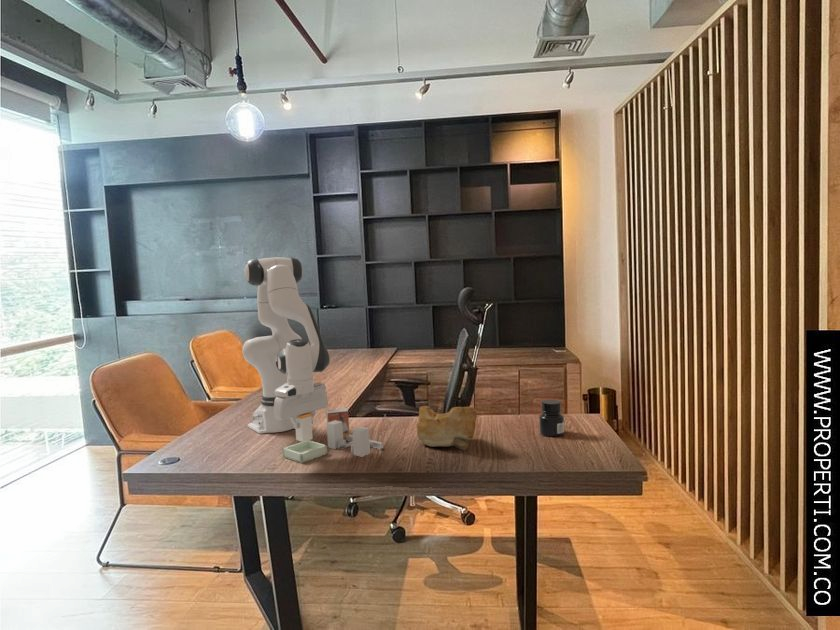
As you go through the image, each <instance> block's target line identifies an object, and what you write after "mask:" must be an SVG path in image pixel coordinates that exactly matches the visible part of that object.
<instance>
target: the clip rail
mask: <svg viewBox="0 0 840 630" xmlns="http://www.w3.org/2000/svg"><path fill="white" fill-rule="evenodd" d="M346 440H347V441H348V442H347V441H346ZM369 440H370V448H372V447H373V448H372V449H376V448H377V449H376V450H382V448H383V449H384V446H383V445H384V443H383V442H380V441H377V440H374V439H370V438H369ZM345 447H346V448H348V447H350V454H353V455H354V450H353V434H350V433H349V434H348V435H346V438H343V439H342V440H340V441H338V448H337V450H339V449H340V450H343V449H345ZM342 448H343V449H342Z"/></svg>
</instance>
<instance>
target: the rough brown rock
mask: <svg viewBox="0 0 840 630" xmlns="http://www.w3.org/2000/svg"><path fill="white" fill-rule="evenodd" d="M418 410H419V411H418V421H417V424H416V428H417V429H416V431H417V433H416V434H417V435H416V436H417V438H418V440H419V441H421V443H422V444H424V445H425V446H428V447H435V448H436V447H453V446H454V447H456V448H458V449H459V450H461V451H465V450H466V449H467V448H468V447H469V444H470V440H471V439H473V438H474V435H475V431H476V426H477V425H476V421H477V417H478V413H477V409H476V408H474V407H472V406H456V407H454V406H453V407H451V408H450V410H449V411H448V412H445V413H438V412H436V411H434V409H433V408H432V407H430V406H429V405H423V406H422V405H421V406H420V407H419V409H418Z"/></svg>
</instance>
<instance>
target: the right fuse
mask: <svg viewBox="0 0 840 630" xmlns="http://www.w3.org/2000/svg"><path fill="white" fill-rule="evenodd" d="M351 432H352V435H353V450H354V453H353V456H357V457H360V458H362V457H363V458H364V457H366V456H368V455H370V454H371V447H370V440H371V439H370V428H369V427H366V426H361V425H360V426H358V427H355V428H352V431H351ZM369 439H370V440H369ZM365 455H366V456H365Z"/></svg>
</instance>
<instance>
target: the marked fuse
mask: <svg viewBox="0 0 840 630" xmlns="http://www.w3.org/2000/svg"><path fill="white" fill-rule="evenodd" d="M296 421H297V422H298V423H300V428H298V429H295V440H296V441H299V442H304V441H307V440H310V441H311V440H313V437H314V436H313V424H312V419H311V413H305V414H302V415H298V416H297V419H296Z"/></svg>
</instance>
